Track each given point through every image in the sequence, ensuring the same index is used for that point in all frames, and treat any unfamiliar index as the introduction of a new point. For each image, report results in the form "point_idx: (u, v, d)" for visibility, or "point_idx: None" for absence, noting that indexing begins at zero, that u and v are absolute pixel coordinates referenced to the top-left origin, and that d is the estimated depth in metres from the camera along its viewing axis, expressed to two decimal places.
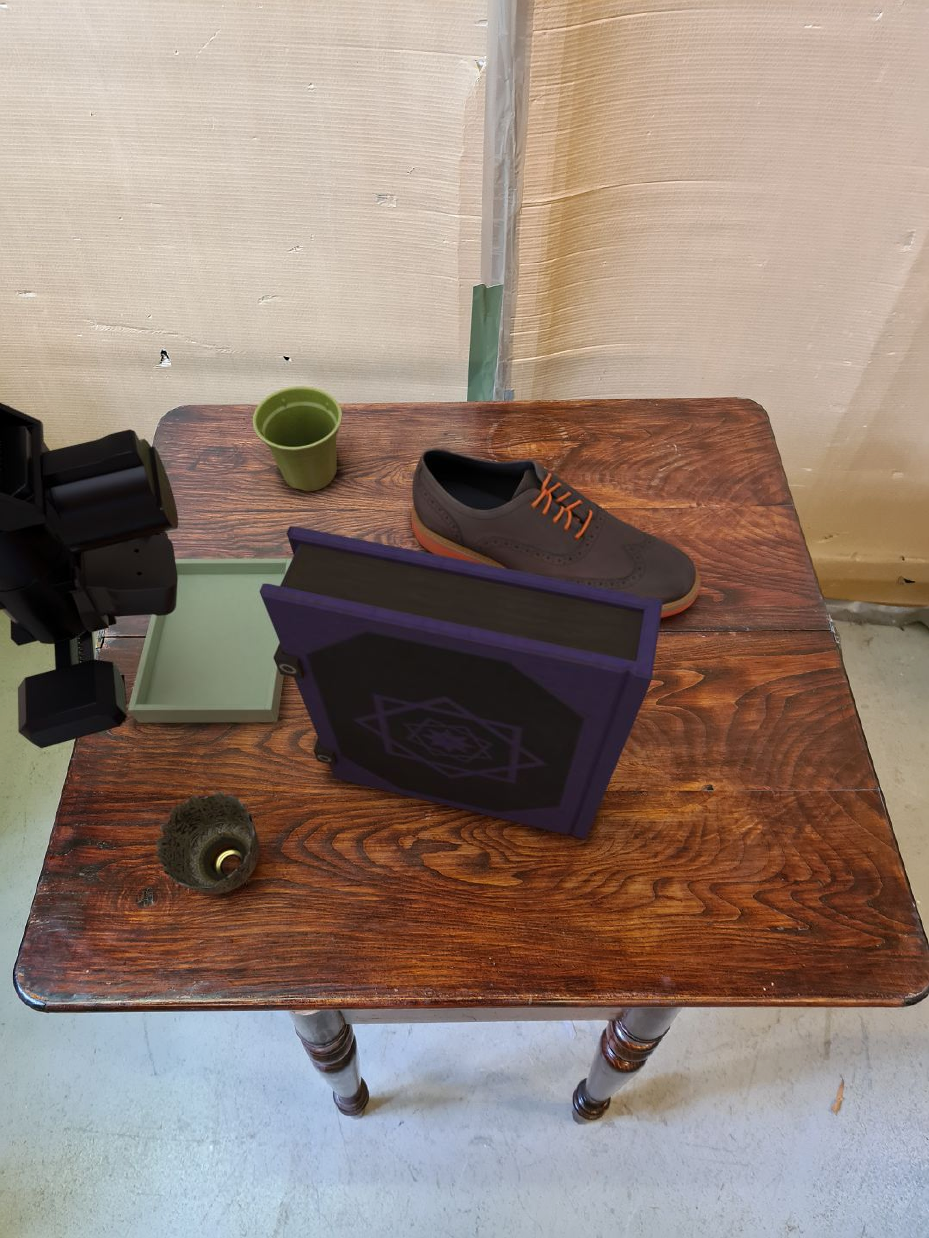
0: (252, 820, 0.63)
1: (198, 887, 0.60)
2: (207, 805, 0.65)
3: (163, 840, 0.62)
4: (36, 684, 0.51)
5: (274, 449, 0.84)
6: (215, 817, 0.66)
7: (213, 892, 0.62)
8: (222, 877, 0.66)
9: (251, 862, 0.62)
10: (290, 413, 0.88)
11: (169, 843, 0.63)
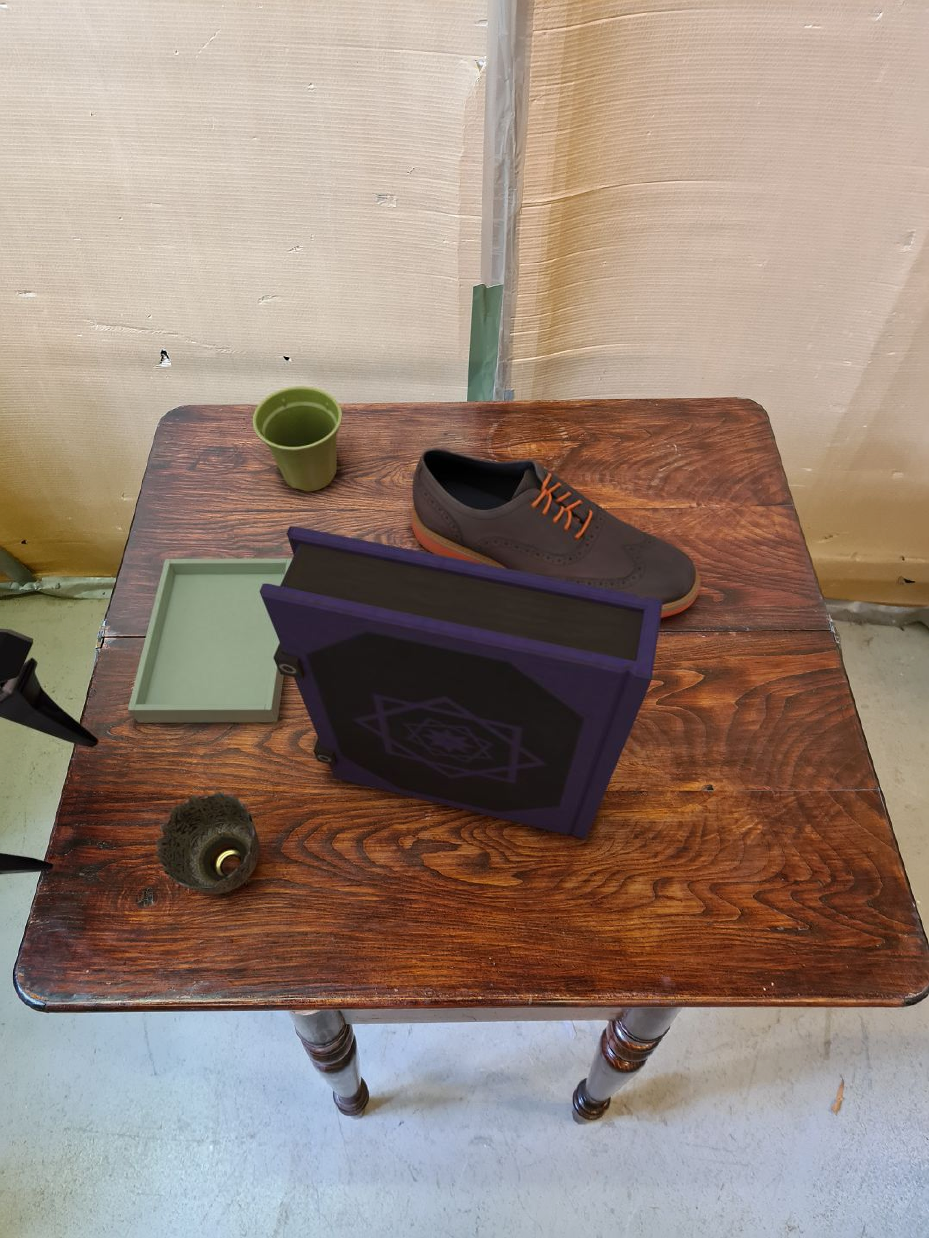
0: (252, 820, 0.63)
1: (198, 887, 0.60)
2: (207, 805, 0.65)
3: (163, 840, 0.62)
4: None
5: (274, 449, 0.84)
6: (215, 817, 0.66)
7: (213, 892, 0.62)
8: (222, 877, 0.66)
9: (251, 862, 0.62)
10: (290, 413, 0.88)
11: (169, 843, 0.63)
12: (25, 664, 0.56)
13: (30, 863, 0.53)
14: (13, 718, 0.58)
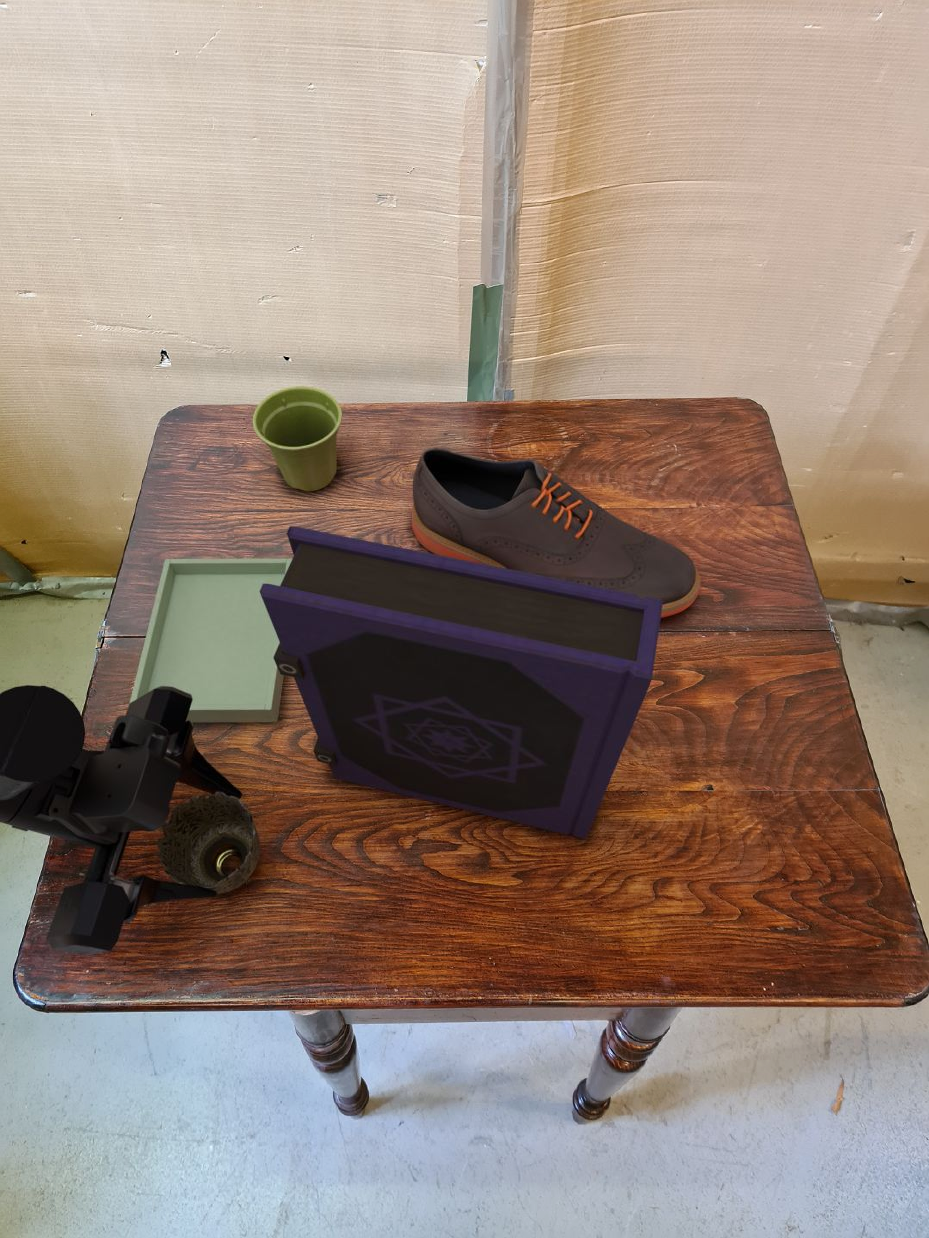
0: (253, 821, 0.63)
1: None
2: (208, 805, 0.65)
3: (164, 840, 0.62)
4: (63, 897, 0.54)
5: (274, 449, 0.84)
6: (216, 817, 0.66)
7: None
8: (223, 877, 0.66)
9: (252, 862, 0.62)
10: (290, 413, 0.88)
11: (170, 843, 0.63)
12: None
13: (199, 891, 0.59)
14: None
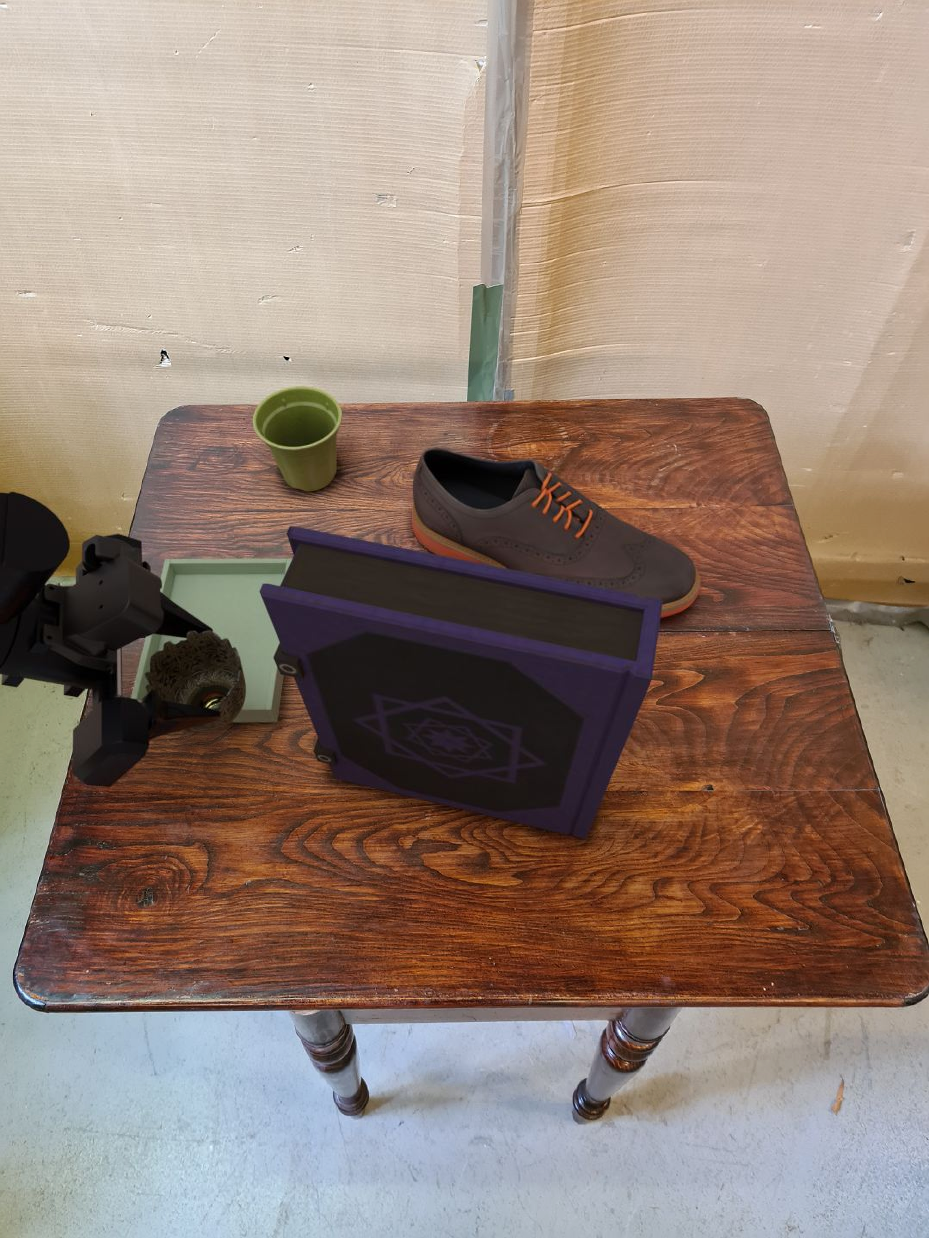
0: (231, 648, 0.65)
1: None
2: (182, 652, 0.66)
3: (151, 687, 0.63)
4: (77, 735, 0.55)
5: (274, 449, 0.84)
6: (191, 667, 0.67)
7: (214, 722, 0.64)
8: None
9: (243, 685, 0.65)
10: (290, 413, 0.88)
11: (156, 692, 0.64)
12: None
13: (205, 711, 0.60)
14: None
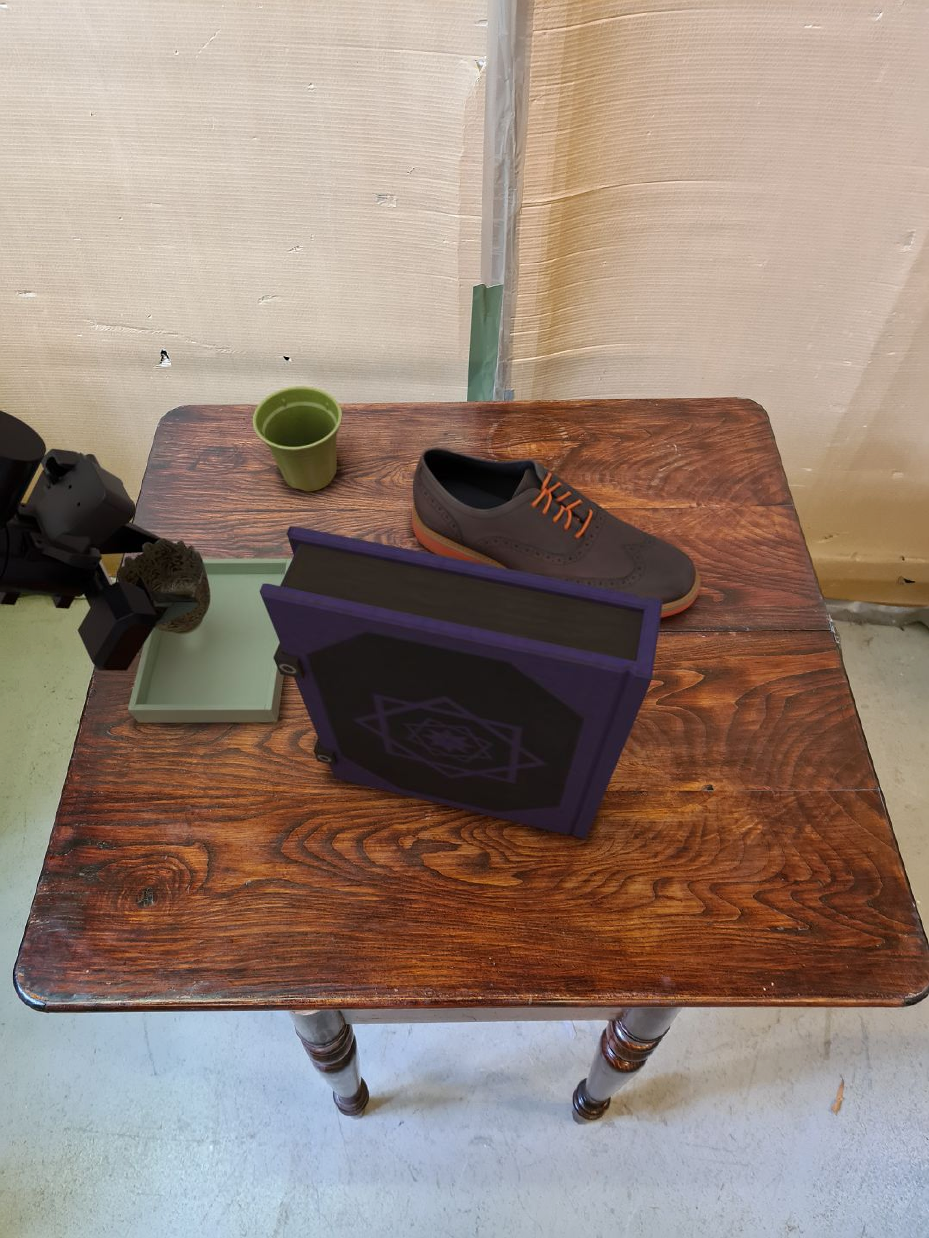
0: None
1: None
2: (141, 566, 0.72)
3: None
4: (84, 630, 0.60)
5: (274, 449, 0.84)
6: (151, 582, 0.73)
7: (192, 615, 0.70)
8: None
9: (207, 578, 0.71)
10: (290, 413, 0.88)
11: None
12: None
13: (185, 598, 0.67)
14: (94, 549, 0.69)
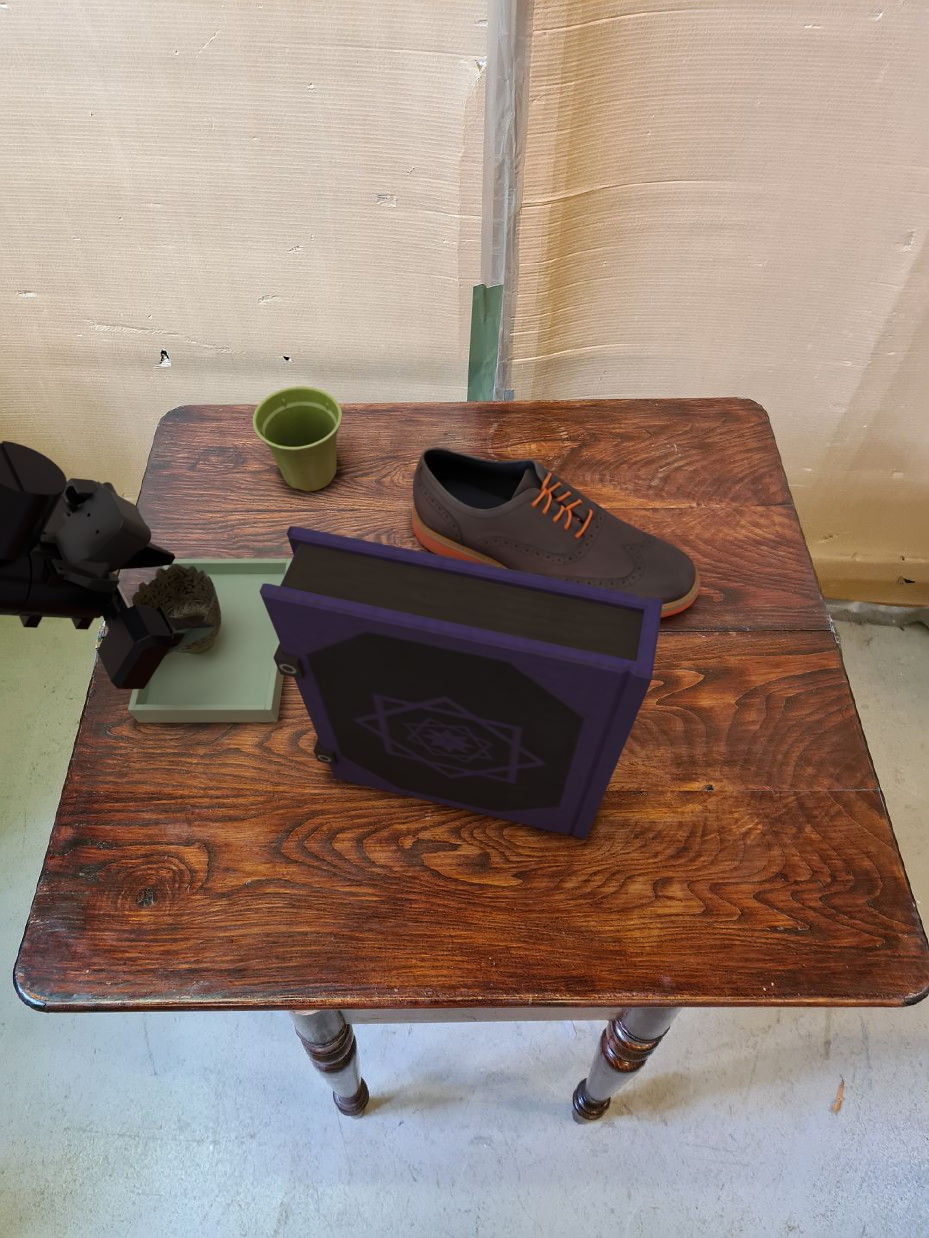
0: (198, 574, 0.75)
1: None
2: (154, 590, 0.75)
3: None
4: (103, 651, 0.63)
5: (274, 449, 0.84)
6: (164, 605, 0.77)
7: (204, 637, 0.74)
8: None
9: (218, 601, 0.75)
10: (290, 413, 0.88)
11: None
12: None
13: (202, 623, 0.69)
14: None
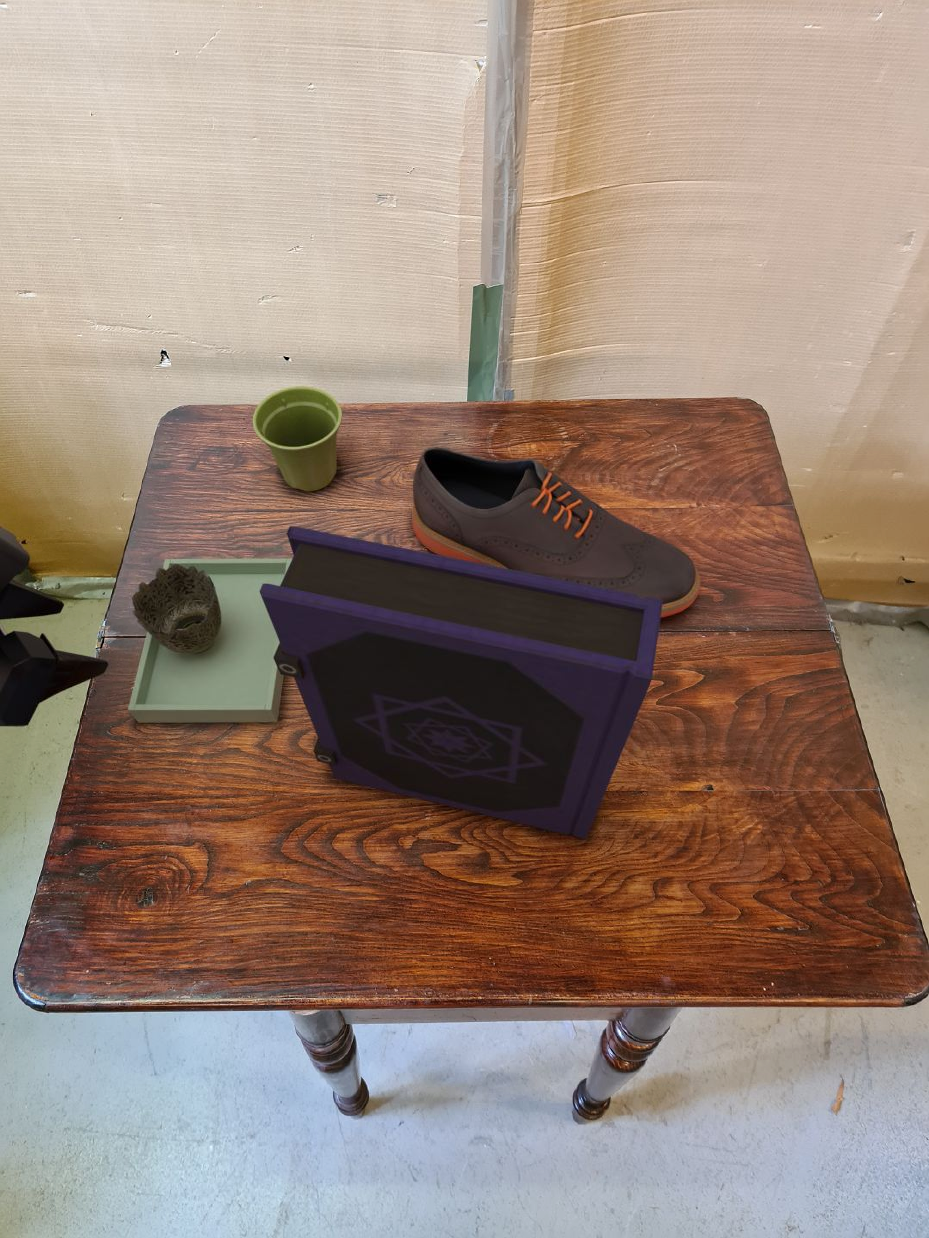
0: (198, 574, 0.75)
1: (194, 624, 0.71)
2: (154, 590, 0.75)
3: (141, 621, 0.72)
4: None
5: (274, 449, 0.84)
6: (164, 605, 0.77)
7: (204, 637, 0.74)
8: None
9: (218, 601, 0.75)
10: (290, 413, 0.88)
11: (146, 626, 0.73)
12: None
13: (93, 659, 0.65)
14: None
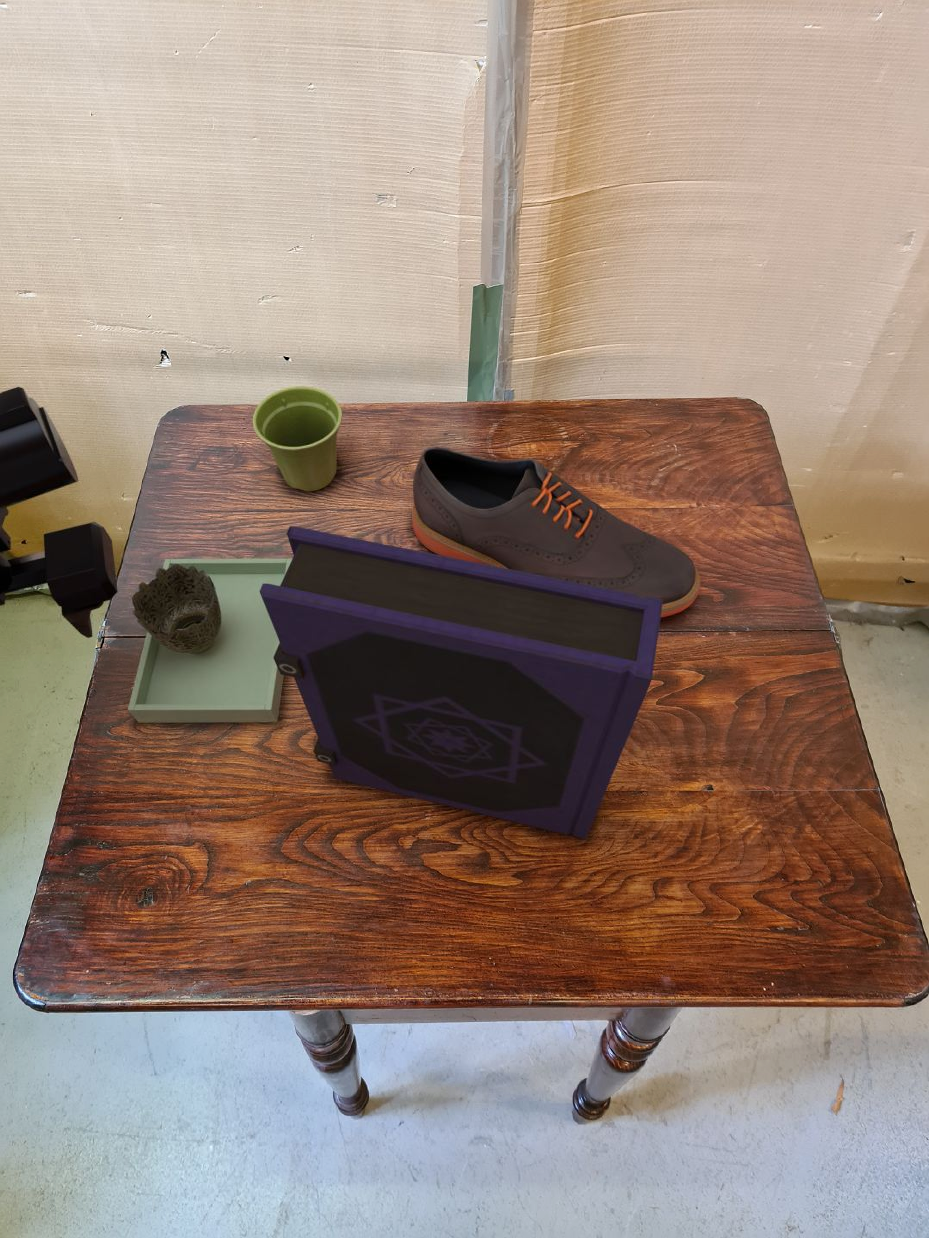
0: (198, 574, 0.75)
1: (194, 624, 0.71)
2: (154, 590, 0.75)
3: (141, 621, 0.72)
4: (56, 570, 0.56)
5: (274, 449, 0.84)
6: (164, 605, 0.77)
7: (204, 637, 0.74)
8: None
9: (218, 601, 0.75)
10: (290, 413, 0.88)
11: (146, 626, 0.73)
12: None
13: None
14: None
